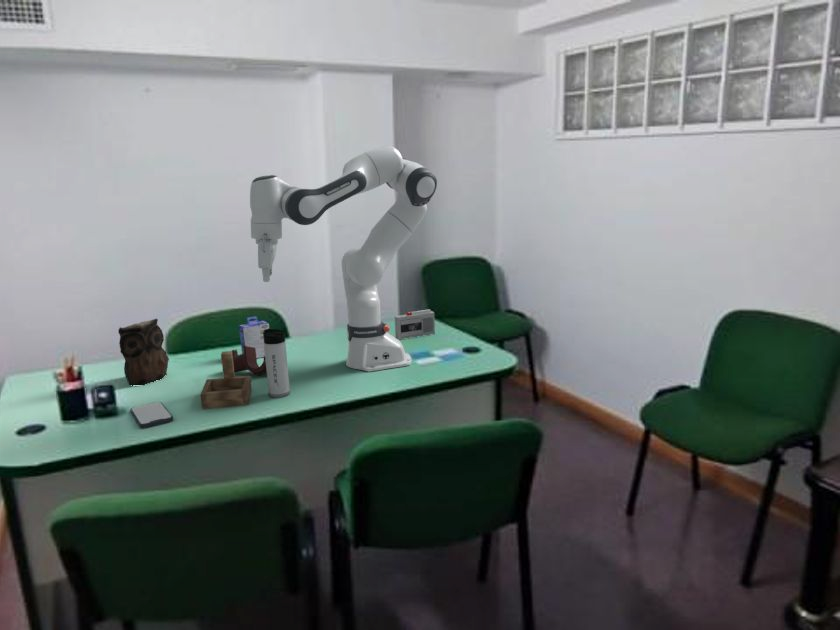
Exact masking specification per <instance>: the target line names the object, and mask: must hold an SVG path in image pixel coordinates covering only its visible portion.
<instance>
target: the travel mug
mask: <svg viewBox="0 0 840 630" xmlns="http://www.w3.org/2000/svg"><path fill="white" fill-rule="evenodd" d="M263 337H264V350H265V360H266V370H267V374H266V379H267V389H268V396H269V397H270V398H275V399H278V398H284V397H287V396H288V395H290V393H291V391H290V390H291V389H290V379H289V377H290V376H289V368H288V367H289V366H288V357H287V355H288V354H287V345H286V335H285V332H284V331H283V330H282V329H276V328H272V329H270V328H269V329H266V330H264V332H263Z"/></svg>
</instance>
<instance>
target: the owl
mask: <svg viewBox="0 0 840 630" xmlns="http://www.w3.org/2000/svg"><path fill="white" fill-rule="evenodd" d="M158 320H159V319H158V318H153V319H151V320H146V321H145V320H144V321H141V322H138V323H133V324H131V325H127V326H125V327H121V326H120V327H119V328H118V331H117V332H118V335H119V343H118V344H119V349H120V353H121V355H122V356H123V359H124V365H123V372H124V376H125V379H126V381H127V382H128V386H129V385H132V386H133V385H143V386H146V385H145V384H147V383H149V384H151V383H150V382H153V383H155V382H157V381H156V380H159V381H161V380H163V379H164V378H165V377H166V376H168V373H167V371H168V367H169V361H170V359H169V357H168V354H167V351H166V350H165V349H164V348H163V343H164V341H165V339H164V338H165V337H164V333H163V330H162V328H161V327H160V326H159V325H158V322H159V321H158ZM165 375H166V376H165ZM164 376H165V377H164ZM163 377H164V378H163ZM162 378H163V379H162ZM160 379H161V380H160ZM154 381H155V382H154ZM147 385H148V384H147Z"/></svg>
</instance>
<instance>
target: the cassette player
mask: <svg viewBox="0 0 840 630" xmlns="http://www.w3.org/2000/svg"><path fill="white" fill-rule="evenodd" d="M435 323H436V322H435V312H434V311H432V310H431V309H429V308H428V309H421V310H417V311H408V312H406V314H399V315H395V316H394V329H395V338H397V339H402V340H405V339H404V338H408V339H411V338H410V337H415V338H418V337H417V336H421V337H424V336H423V335H427V336H431V335H430V334H434V335H435V334H436V332H435V331H436V325H435Z"/></svg>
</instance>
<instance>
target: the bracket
mask: <svg viewBox="0 0 840 630" xmlns="http://www.w3.org/2000/svg"><path fill="white" fill-rule="evenodd" d="M231 351H232V354H233V364H234V373H235V374H236V373H240V372H246V371H249V372H250V373H251V374H253V375H254V376H261V375H267V370H266V360H265V356H264V357H263V361H262V363H261V365H260V366H259V365H258V360H257V359H258V358H256V348H255V347H252V346H244V354H242V353H241V354H238V350H237V349H232V350H231Z"/></svg>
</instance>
